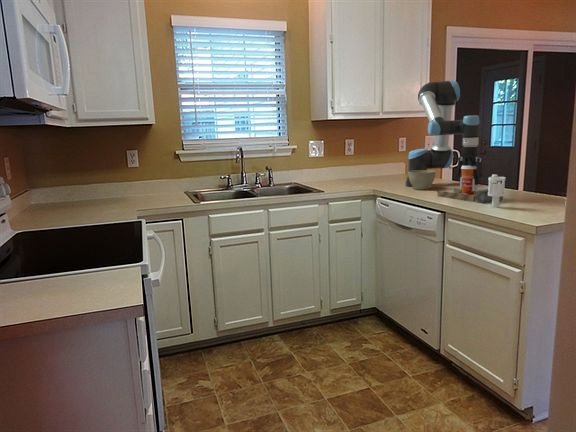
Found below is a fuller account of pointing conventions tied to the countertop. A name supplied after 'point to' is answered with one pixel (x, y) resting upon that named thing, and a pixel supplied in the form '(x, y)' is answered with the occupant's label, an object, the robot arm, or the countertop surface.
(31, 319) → the countertop surface
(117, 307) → the countertop surface
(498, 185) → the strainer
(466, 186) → the coffee cup
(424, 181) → the planter bowl
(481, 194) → the guide channel
